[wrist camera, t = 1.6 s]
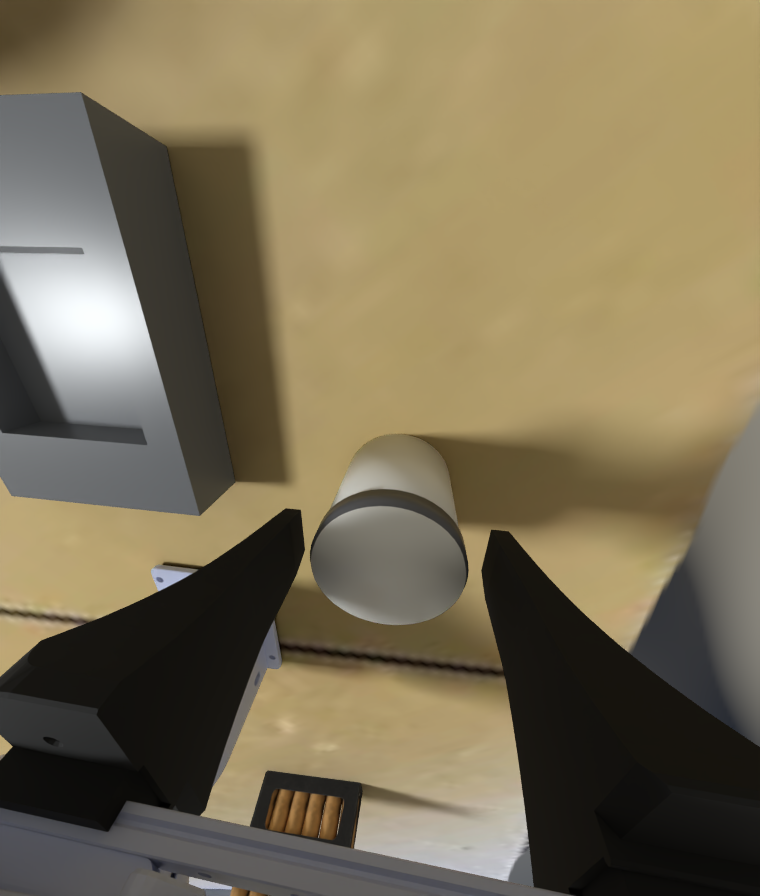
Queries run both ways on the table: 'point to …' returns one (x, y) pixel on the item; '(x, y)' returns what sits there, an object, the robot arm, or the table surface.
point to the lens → (392, 535)
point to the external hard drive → (217, 892)
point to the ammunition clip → (307, 810)
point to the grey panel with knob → (100, 318)
